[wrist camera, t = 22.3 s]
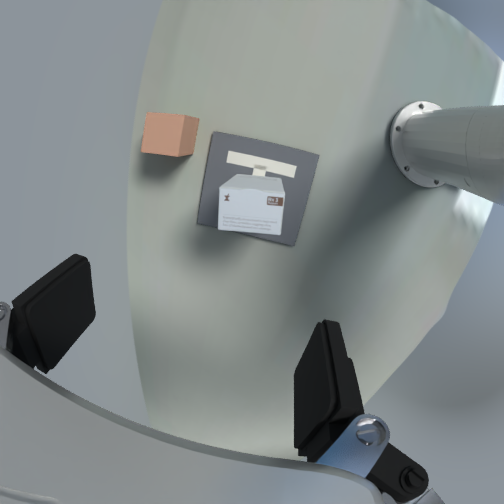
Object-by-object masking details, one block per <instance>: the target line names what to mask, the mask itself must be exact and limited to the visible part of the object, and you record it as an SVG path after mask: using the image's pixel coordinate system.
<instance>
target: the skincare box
mask: <svg viewBox="0 0 504 504" xmlns="http://www.w3.org/2000/svg"><path fill="white" fill-rule="evenodd" d="M284 201H285V192H284V188H283V184H282V180H281V178H275V177H266V176H256V175H245V174H236V175H235V176H233V177H232V178H231V179H229V180H228V181H227V182H225V183H224V184H223V185H222V186H220V187H219V211H218V230H225V231H238V232H249V233H261V234H272V235H280V234H281V228H282V218H283V209H284Z"/></svg>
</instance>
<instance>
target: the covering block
mask: <svg viewBox="0 0 504 504" xmlns="http://www.w3.org/2000/svg"><path fill="white" fill-rule="evenodd" d="M198 124H199V118H195V117H191V116H186V115H178V114H166V113H151V112H147V115H146V121H145V127H144V133H143V140H142V147H141V152H145V153H153V154H161V155H169V156H176V157H179V156H184V155H190V154H193V152H194V146H195V141H196V135H197V130H198Z"/></svg>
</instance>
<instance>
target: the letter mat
mask: <svg viewBox="0 0 504 504" xmlns="http://www.w3.org/2000/svg"><path fill="white" fill-rule="evenodd" d="M318 159H319V155H317V154H314V153H310V152H306V151H303V150H299V149H295V148H291V147H287V146H283V145H279V144H275V143H270V142H266V141H261V140H257V139H252V138H247V137H242V136H237V135H232V134H226V133H220V132H213V137H212V142H211V147H210V152H209V157H208V162H207V167H206V173H205V178H204V184H203V190H202V196H201V202H200V208H199V214H198V221H197V223H199V224H203V225H207V226H212V227H216V228H218V211H219V187H220V186H222V185H223V184H224V183H225V182H227V181H228V180H229V179H231V178H232V177H233V176H235V175H236V174H245V175H256V176H266V177H275V178H281V180H282V184H283V188H284V192H285V201H284V209H283V218H282V228H281V234H280V235H272V234H261V233H249V232H238V231H233V232H237V233H242V234H246V235H250V236H254V237H258V238H263V239H267V240H271V241H275V242H279V243H283V244H287V245H291V246H294V245H295V242H296V239H297V235H298V232H299V228H300V225H301V221H302V218H303V214H304V211H305V207H306V204H307V200H308V196H309V193H310V189H311V185H312V182H313V178H314V174H315V170H316V167H317V163H318Z"/></svg>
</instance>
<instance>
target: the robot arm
mask: <svg viewBox="0 0 504 504" xmlns="http://www.w3.org/2000/svg"><path fill="white" fill-rule="evenodd" d="M419 107H420V108H419ZM396 128H397V131H396ZM390 147H391V152H392V155H393V158H394V160H395V163H396V165H397V166H398V168H399V170H400V171H401V172H402V173H403V175H404V176H405V177H407V178H408V179H409V180H410V181H412V182H414V183H415V184H417V185H420V186H423V187H428V188H432V187H438V186H441V185H443V184H445V183H447V184H450V185H452V186H455V187H458V188H460V189H463V190H465V191H468V192H471V193H473V194H475V195H478V196H480V197H483V198H485V199H487V200H490V201H492V202H494V203H497V204H499V205H503V206H504V105H499V106H475V107H460V108H449V109H442V108H441V107H439V106H438V105H436V104H434V103H431V102H427V101H416V102H412V103H409V104H407V105H405V106H404V107H403V108H401V109H400V110H399V112H398V113H397V114H396V116H395V118H394V120H393V122H392V125H391V129H390ZM404 167H406V168H405V170H404ZM434 180H435V181H434ZM12 304H13V307H14V308H13V309H12V310H11V308H10V306H9V305H8V304H7V303H5V302H0V504H445V503H444V502H443V501H442V500H441V498H440V497H439V496H438V495H437V493H436V492H435V491H434V489H433V488H431V489H430V490H429V489H428V488H427V486H428V481H429V479H428V474H427V472H426V471H425V469H424V468H423V467H422V466H420V465H419V464H417V463H416V462H415V461H413V460H412V459H410V458H409V457H408V456H406V455H405V454H403V453H402V452H401V451H399V450H398V449H397V448H395V447H394V446H393V445H391V444H390V443H389V442H388V441H389V438H390V431H389V429H388V426H387V425H386V423H385V422H384V421H383V420H382V419H381V418H379V417H377V416H375V415H371V414H364V409H363V404H362V399H361V395H360V390H359V386H358V382H357V377H356V373H355V369H354V365H353V362H352V359H351V358H348V356H347V352H346V348H345V344H344V340H343V336H342V332H341V328H340V324H339V323H338V322H335V321H330V320H323V321H322V323H320V322H318V323H317V325H316V327H315V329H314V331H313V334H312V336H311V338H310V340H309V342H308V344H307V347H306V349H305V351H304V353H303V355H302V357H301V359H300V361H299V363H298V365H297V367H296V370H295V373H294V448H297V449H298V456H307V462H304V461H296V460H288V459H281V458H273V457H266V456H259V455H253V454H248V453H242V452H237V451H232V450H227V449H222V448H218V447H213V446H209V445H205V444H201V443H197V442H194V441H190V440H186V439H183V438H180V437H176V436H173V435H170V434H167V433H164V432H161V431H158V430H155V429H152V428H149V427H146V426H144V425H141V424H138V423H136V422H133V421H131V420H128V419H126V418H123V417H121V416H119V415H116V414H114V413H112V412H110V411H108V410H105V409H103V408H101V407H99V406H97V405H95V404H93V403H91V402H89V401H87V400H85V399H83V398H81V397H79V396H77V395H75V394H74V393H71V392H70V391H68V390H66V389H65V388H63V387H61V386H59V385H57V384H56V383H54V382H52V381H51V380H50V379H48V378H46V377H45V376H43V375H42V374H40V373H39V372H37V371H35V370H34V367H35V366H36V367H37V369H39V370H40V371H42V372H44V373H45V374H47V372H48V371H49V370H50V369H53V368H54V367H55V366H56V365H57V364H58V362H59V361H60V360H61V359H62V357H63V356H64V355H65V354H66V352H67V351H68V350H69V349H70V347H71V346H72V345H73V344H74V343H75V341H76V340H77V339H78V338H79V337H80V335H81V334H82V333H83V332H84V331H85V330H86V328H87V327H88V326H89V325H90V324H91V323H92V322H93V320H94V318H95V315H96V312H95V305H94V297H93V288H92V279H91V269H90V263H89V262H88V259H87V258H86V257H84V256H81V255H78V254H73V255H72V256H70V257H69V258H68V259H66V260H65V261H63V262H62V263H61V264H59V265H58V266H57V267H55V268H54V269H52V270H51V271H50V272H48V273H47V274H46V275H44V276H43V277H42V278H40V279H39V280H38V281H36V282H35V283H34V284H33V285H32V286H30V287H29V288H27V289H26V290H25V291H24V292H22V294H20V295H19V296H18V297H16V298H15V299H14V300H13V301H12Z"/></svg>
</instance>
